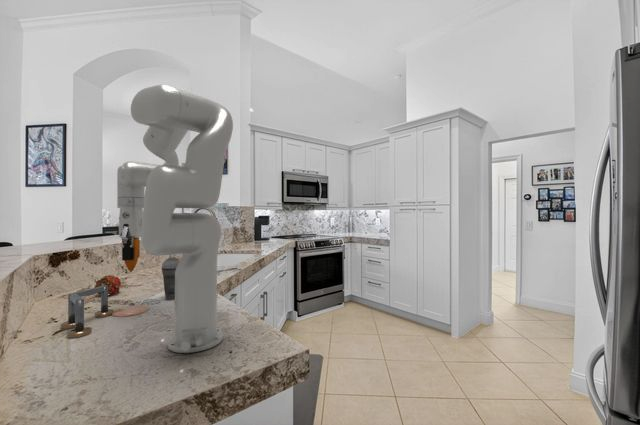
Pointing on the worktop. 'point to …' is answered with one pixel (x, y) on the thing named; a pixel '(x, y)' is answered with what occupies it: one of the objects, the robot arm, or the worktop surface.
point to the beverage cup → (169, 276)
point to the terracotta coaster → (130, 311)
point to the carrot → (132, 263)
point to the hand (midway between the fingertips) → (131, 258)
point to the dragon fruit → (109, 283)
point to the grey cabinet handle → (78, 311)
